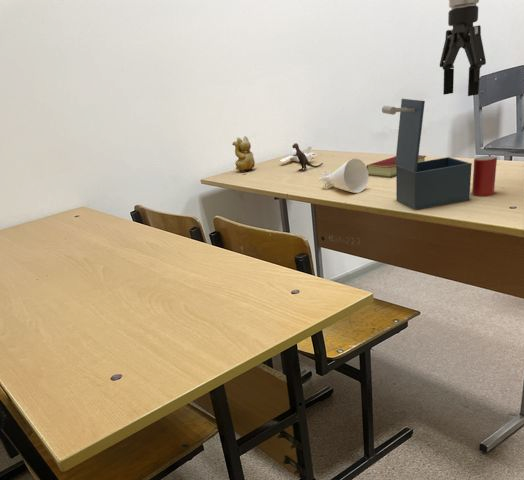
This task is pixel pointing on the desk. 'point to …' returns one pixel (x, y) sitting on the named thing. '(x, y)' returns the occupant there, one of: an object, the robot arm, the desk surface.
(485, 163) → the can
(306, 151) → the airplane model
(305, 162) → the dinosaur model
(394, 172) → the hardcover book
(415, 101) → the lid
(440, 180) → the chest
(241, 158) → the decorative figurine
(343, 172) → the rocket engine
